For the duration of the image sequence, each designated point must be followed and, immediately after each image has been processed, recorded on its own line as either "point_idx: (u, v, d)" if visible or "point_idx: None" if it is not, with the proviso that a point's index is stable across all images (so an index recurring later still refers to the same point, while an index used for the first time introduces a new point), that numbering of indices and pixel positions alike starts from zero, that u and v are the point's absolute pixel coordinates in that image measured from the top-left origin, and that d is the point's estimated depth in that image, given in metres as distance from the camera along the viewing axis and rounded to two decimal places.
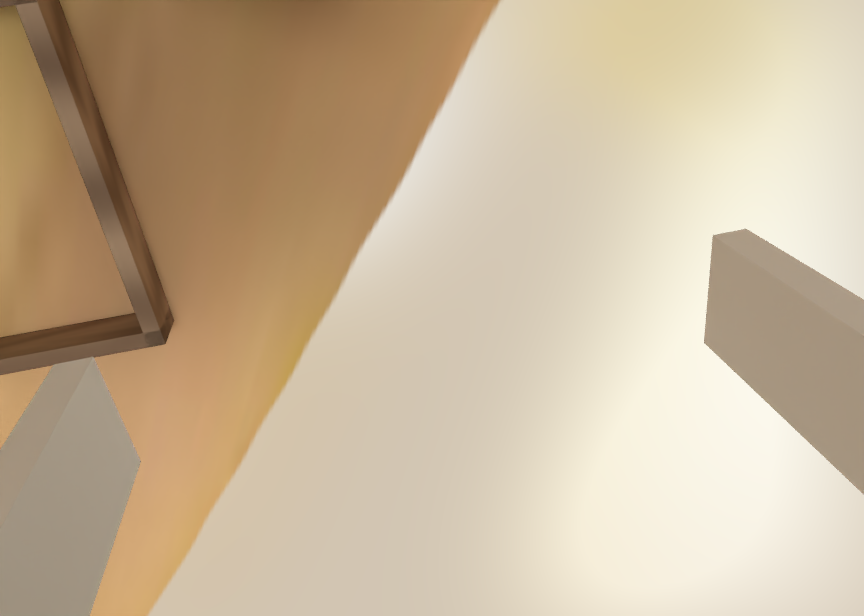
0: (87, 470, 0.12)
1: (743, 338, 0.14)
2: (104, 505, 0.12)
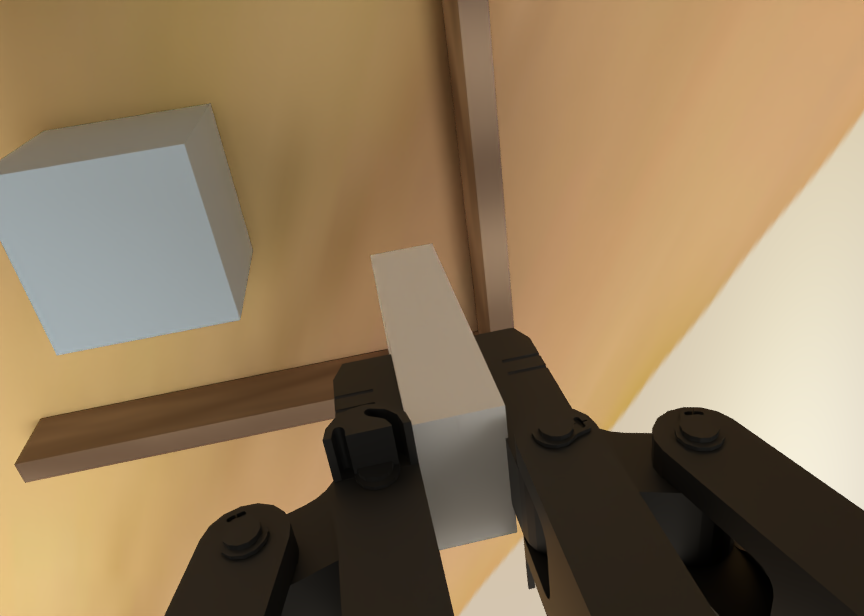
0: None
1: None
2: None
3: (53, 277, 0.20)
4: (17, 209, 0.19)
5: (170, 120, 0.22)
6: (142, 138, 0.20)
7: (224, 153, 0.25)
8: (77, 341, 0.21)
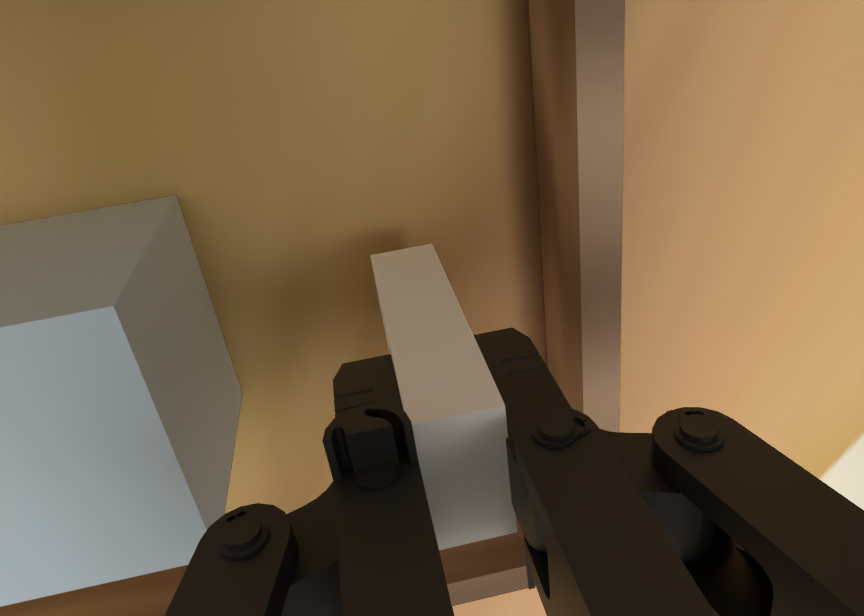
0: None
1: None
2: None
3: None
4: None
5: (107, 233, 0.14)
6: (50, 279, 0.12)
7: (198, 265, 0.17)
8: None
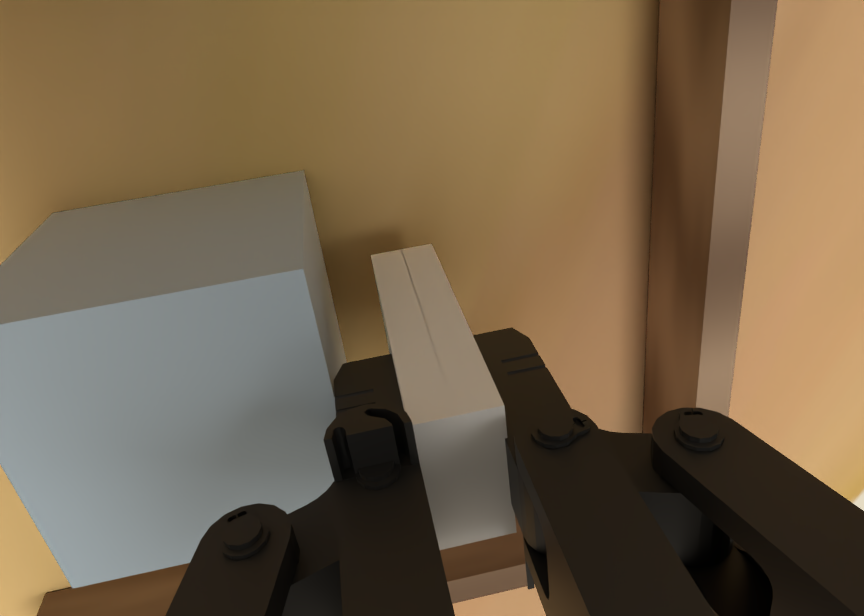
0: None
1: None
2: None
3: (70, 480, 0.12)
4: (10, 381, 0.11)
5: (253, 205, 0.14)
6: (220, 246, 0.12)
7: (319, 241, 0.17)
8: (106, 567, 0.13)
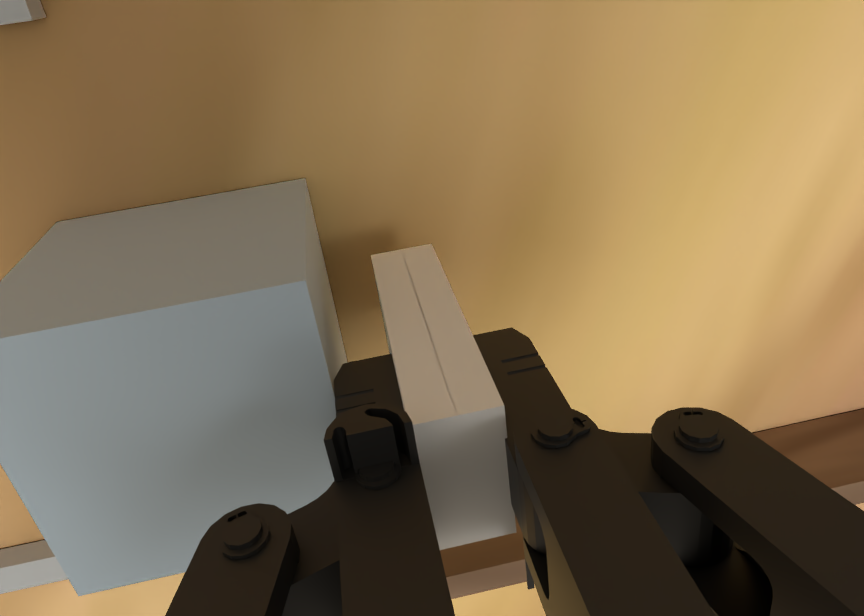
0: None
1: None
2: None
3: (76, 490, 0.12)
4: (16, 393, 0.11)
5: (255, 214, 0.14)
6: (223, 257, 0.12)
7: (321, 249, 0.17)
8: (112, 575, 0.13)
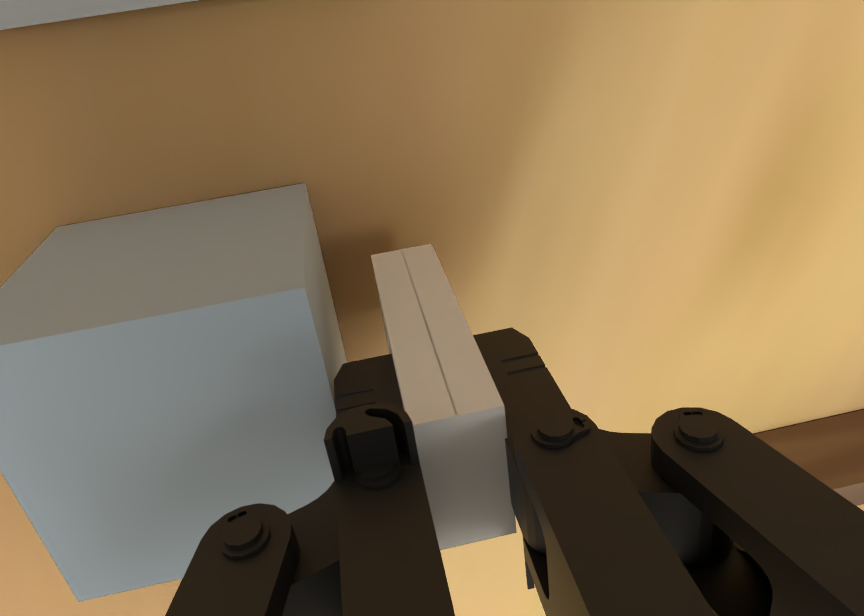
0: None
1: None
2: None
3: (75, 495, 0.12)
4: (16, 400, 0.11)
5: (255, 220, 0.14)
6: (222, 264, 0.12)
7: (321, 253, 0.17)
8: (111, 581, 0.13)
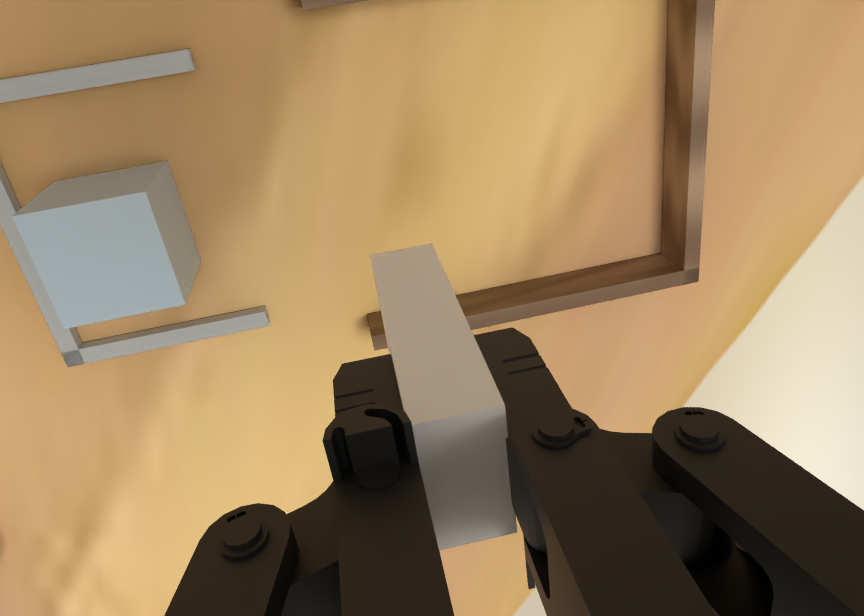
0: None
1: None
2: None
3: (62, 277, 0.32)
4: (40, 234, 0.31)
5: (139, 174, 0.34)
6: (119, 187, 0.32)
7: (178, 193, 0.36)
8: (77, 319, 0.33)
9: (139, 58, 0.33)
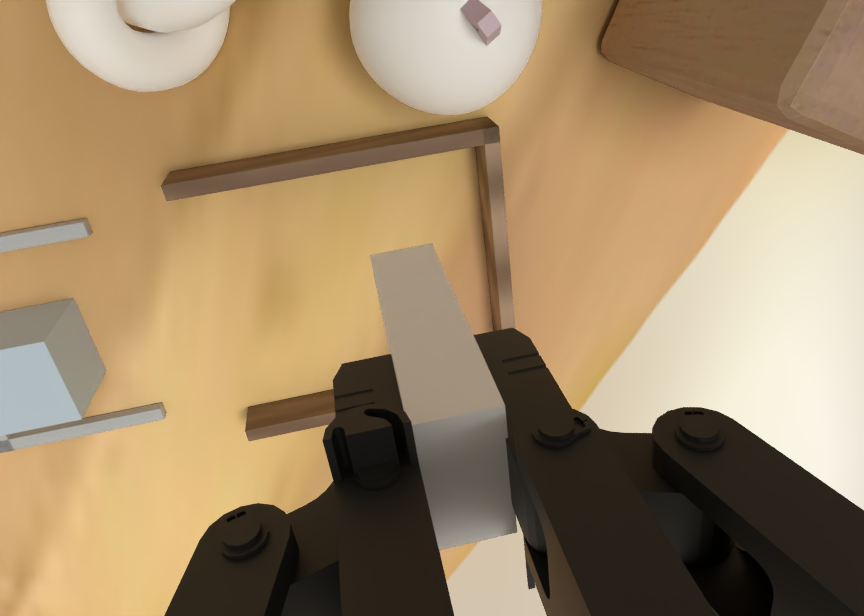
0: None
1: None
2: None
3: None
4: None
5: (47, 315, 0.43)
6: (27, 332, 0.41)
7: (84, 322, 0.46)
8: None
9: (44, 229, 0.42)
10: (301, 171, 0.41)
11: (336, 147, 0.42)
